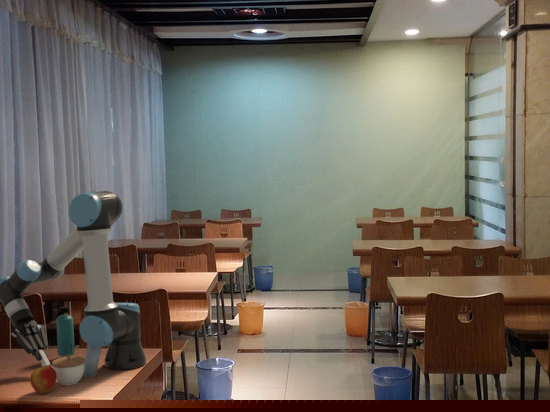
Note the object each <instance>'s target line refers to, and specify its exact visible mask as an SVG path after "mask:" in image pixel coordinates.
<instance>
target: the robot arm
mask: <svg viewBox="0 0 550 412" xmlns="http://www.w3.org/2000/svg"><path fill="white" fill-rule="evenodd" d="M123 209H124V208H123V203H122V200H121V199H120V197H119V195H118V194H116V193H115V192H113V191H108V190H102V191H87V192H82V193H79V194H77V195H76V196H74V197H73V199H72V200H71V202H70V204H69V206H68V217H69V219H70V221H71V222H72V223H73V225H75V228H74V229H73V231H71V232H70V233H69V234H68V235H67V236H66V237H65V238H64V239H63V240H62V241H61V242H60V243H59V244H58V245H57V246H56V247H55V248H54V249H53V250H52V251H51V252H50V253H49V254H48V255H47V256H46V257H45V258H44V259H43V260H42V261H40V262H37V261H35V260H31V259H25V260H24V261H23V262H22V263H21V264H19V265H18V267H17V268H16V269H15V270H14V271H13V272H12V274H11V275H10V276H9V275H7V276H3V277H0V303H1V305H2V307H3V309H4V310H5V313H6V314H7V316H8V319H10V320H9V321H10V322H11V324H12V327H13V328H14V330H12V332H11V334H10V337H12V338H13V339H15V340H16V342H17V343H18V344H19V345H20V346H21V347H22V349H23V350H24V351H25V352H26V354H28V355H30V354H31V356H34V357H35V359H36V361H37V362H39V363H40V362H41V364H40V366H41V365H42V367H43V366H51V362H50V360H49V359H48V358H49V355H48V353H47V351H46V350H47V348H48V347H49V342H48V339H47V336H46V330H45V329H46V326H45V324H38V323H37V321H35V318H34V315H33V314H32V313H33V312H31V309H30V307H29V306H28V304H27V302H26V301H25V298H24V297H23V293H25V291H27V290H28V289H29V287H30V286H32V285H36V284H41V283H45V282H50V281H54V280H56V279H58V278H60V277H61V276H62V273H63V269H65V268H66V266H68V264H69V263H71V262H72V261H73V260H74V259H75V258H76V257H77V256H78V255H79V254H80V253H81V252H82V251H83V260H84V261H83V263H84V272H85V273H84V274H85V284H86V294H87V305H86V306H85V308H84V317H83V318H82V320H81V322H80V323H79V328H78V329H79V335H80V336H81V337H80V338H81V339H82V340H83V342H84V343H86V345H87V344H88V345H89V346H91V347H95V348H100V347H101V348H104V347H107V350H106V354H105V356H104V368H106V369H108V370H116V371H118V370H119V371H124V370H134V369H137V368H140V367H141V368H142V367H143V366H145V365H146V364H147V356H146V353H145V351H144V348H143V346H142V342H141V311H140V306H139V304H138V303H135V302H114V297H113V296H114V295H113V285H112V273H111V263H110V253H109V242H108V241H109V240H108V233H109V232H110V231H111V229H112V227H113V225H114V224H115V223H116V222H117V221H118V220H119V219H120V217H121V216H122V213H123Z"/></svg>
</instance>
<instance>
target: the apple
mask: <svg viewBox="0 0 550 412" xmlns="http://www.w3.org/2000/svg"><path fill="white" fill-rule="evenodd" d="M39 364H40V366H41V367H39V368H37V369H35V370H34V371H32V372H31V374H30V385H31V387H32V388H33V390H34V391H35V392H37V393H38V394H47V393H50V392H51V391H52V390H53V388H54V387H55V385H56V383H57V380H56V378H57V374H56V371H55V370H54V369H53V366H51V365H50V366H43V367H42V365H41V362H40V361H39Z"/></svg>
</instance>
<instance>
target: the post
mask: <svg viewBox="0 0 550 412" xmlns="http://www.w3.org/2000/svg"><path fill="white" fill-rule="evenodd" d="M101 351H102V347H100V348H95V347H91V346H89V345H88V344H87V343H86V349H85V354H84V359H85V369H84V374H83V376H82V377H84V378H85V377H86V378H91V377H95V376H96V375H97V373H98V367H99V363H100V358H101V354H102V353H101Z"/></svg>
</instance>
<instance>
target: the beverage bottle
mask: <svg viewBox="0 0 550 412" xmlns="http://www.w3.org/2000/svg"><path fill="white" fill-rule="evenodd" d="M58 313H59V314H61V315H59V316H58V317H56V319H55V321H56V341H57V343H56V345H57V350H56V351H57V355H58V357H67V356H68V355H70V356H73V355H74V354H75V351H76V350H75V349H76V347H75V344H76V343H75V331H74V329H75V328H74V318H73V316H72V315H70V314H69V313H71V309H70V306H60V307H59V308H58Z"/></svg>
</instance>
